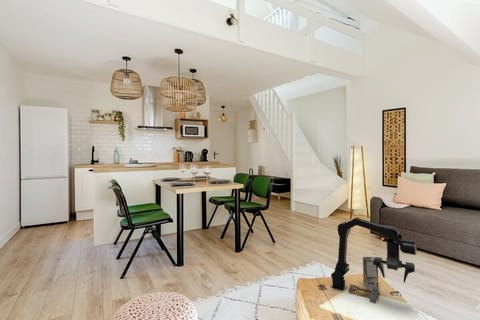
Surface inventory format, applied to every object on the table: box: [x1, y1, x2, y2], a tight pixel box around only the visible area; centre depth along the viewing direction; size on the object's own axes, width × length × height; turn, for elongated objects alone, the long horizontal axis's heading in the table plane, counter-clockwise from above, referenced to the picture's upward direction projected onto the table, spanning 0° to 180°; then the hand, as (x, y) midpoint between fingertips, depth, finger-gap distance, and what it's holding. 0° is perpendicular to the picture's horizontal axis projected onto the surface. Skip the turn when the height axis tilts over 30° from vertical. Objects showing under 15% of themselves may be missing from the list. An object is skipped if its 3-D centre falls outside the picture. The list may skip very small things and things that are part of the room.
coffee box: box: [362, 256, 379, 289], centre depth 156 cm, size 9×6×16 cm
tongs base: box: [348, 283, 381, 298], centre depth 146 cm, size 15×7×2 cm, turn 55°
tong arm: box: [348, 285, 380, 301], centre depth 144 cm, size 15×2×4 cm, turn 56°
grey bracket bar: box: [369, 287, 380, 304], centre depth 142 cm, size 3×12×3 cm, turn 145°
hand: (393, 280), depth 136 cm, fingers open, 9 cm apart
